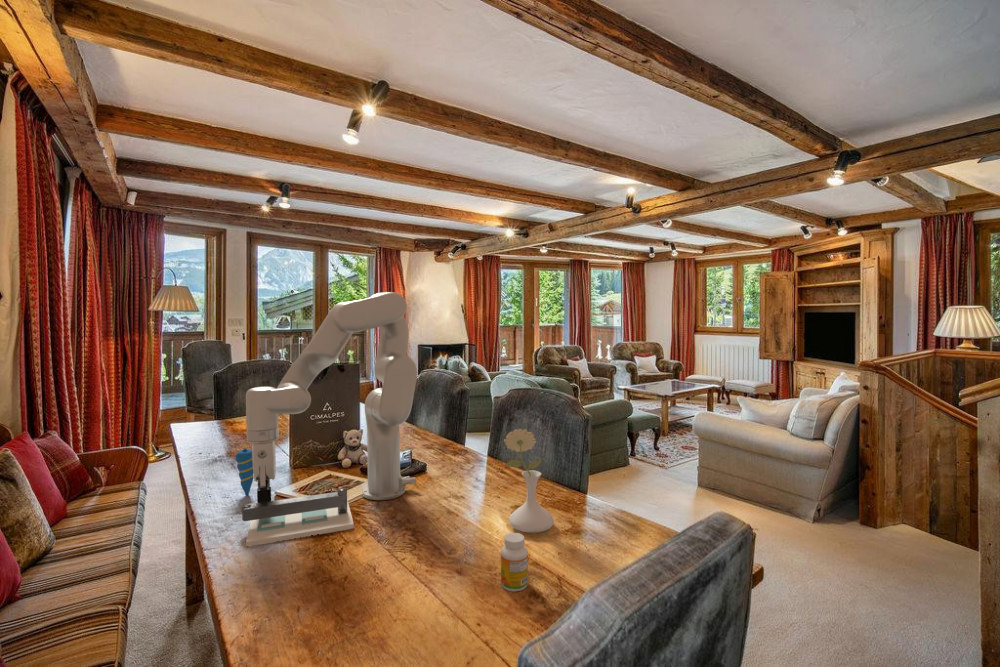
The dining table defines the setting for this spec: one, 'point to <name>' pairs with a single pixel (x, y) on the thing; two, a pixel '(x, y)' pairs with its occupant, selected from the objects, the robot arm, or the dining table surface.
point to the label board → (298, 525)
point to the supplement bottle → (514, 563)
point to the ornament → (245, 468)
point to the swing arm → (296, 505)
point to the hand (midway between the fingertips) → (264, 503)
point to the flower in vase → (530, 512)
